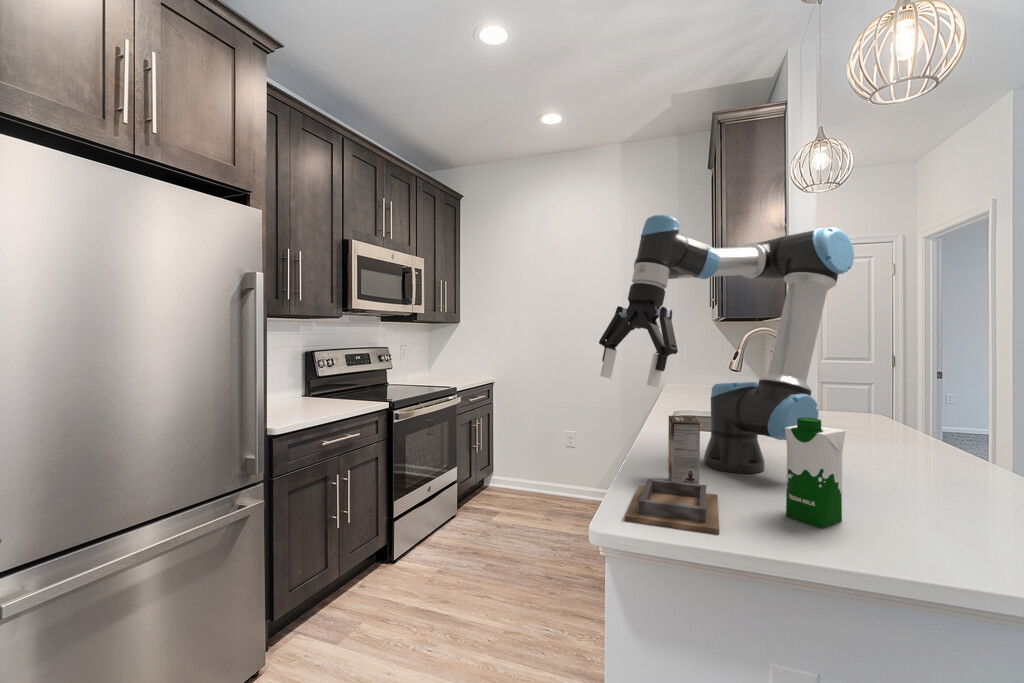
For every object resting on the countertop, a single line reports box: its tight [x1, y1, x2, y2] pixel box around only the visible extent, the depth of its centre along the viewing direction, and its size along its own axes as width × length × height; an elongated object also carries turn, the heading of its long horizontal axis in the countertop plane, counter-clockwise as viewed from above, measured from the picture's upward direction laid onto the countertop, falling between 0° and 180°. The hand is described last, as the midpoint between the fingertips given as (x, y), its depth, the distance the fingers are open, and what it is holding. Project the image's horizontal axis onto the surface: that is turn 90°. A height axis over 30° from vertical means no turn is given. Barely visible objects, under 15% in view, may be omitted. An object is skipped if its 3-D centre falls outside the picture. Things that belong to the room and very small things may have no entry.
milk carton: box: [785, 418, 846, 529], centre depth 96 cm, size 9×9×20 cm
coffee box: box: [667, 415, 701, 484], centre depth 117 cm, size 9×6×16 cm
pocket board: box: [624, 478, 720, 535], centre depth 101 cm, size 17×20×4 cm
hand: (627, 381), depth 104 cm, fingers open, 13 cm apart
